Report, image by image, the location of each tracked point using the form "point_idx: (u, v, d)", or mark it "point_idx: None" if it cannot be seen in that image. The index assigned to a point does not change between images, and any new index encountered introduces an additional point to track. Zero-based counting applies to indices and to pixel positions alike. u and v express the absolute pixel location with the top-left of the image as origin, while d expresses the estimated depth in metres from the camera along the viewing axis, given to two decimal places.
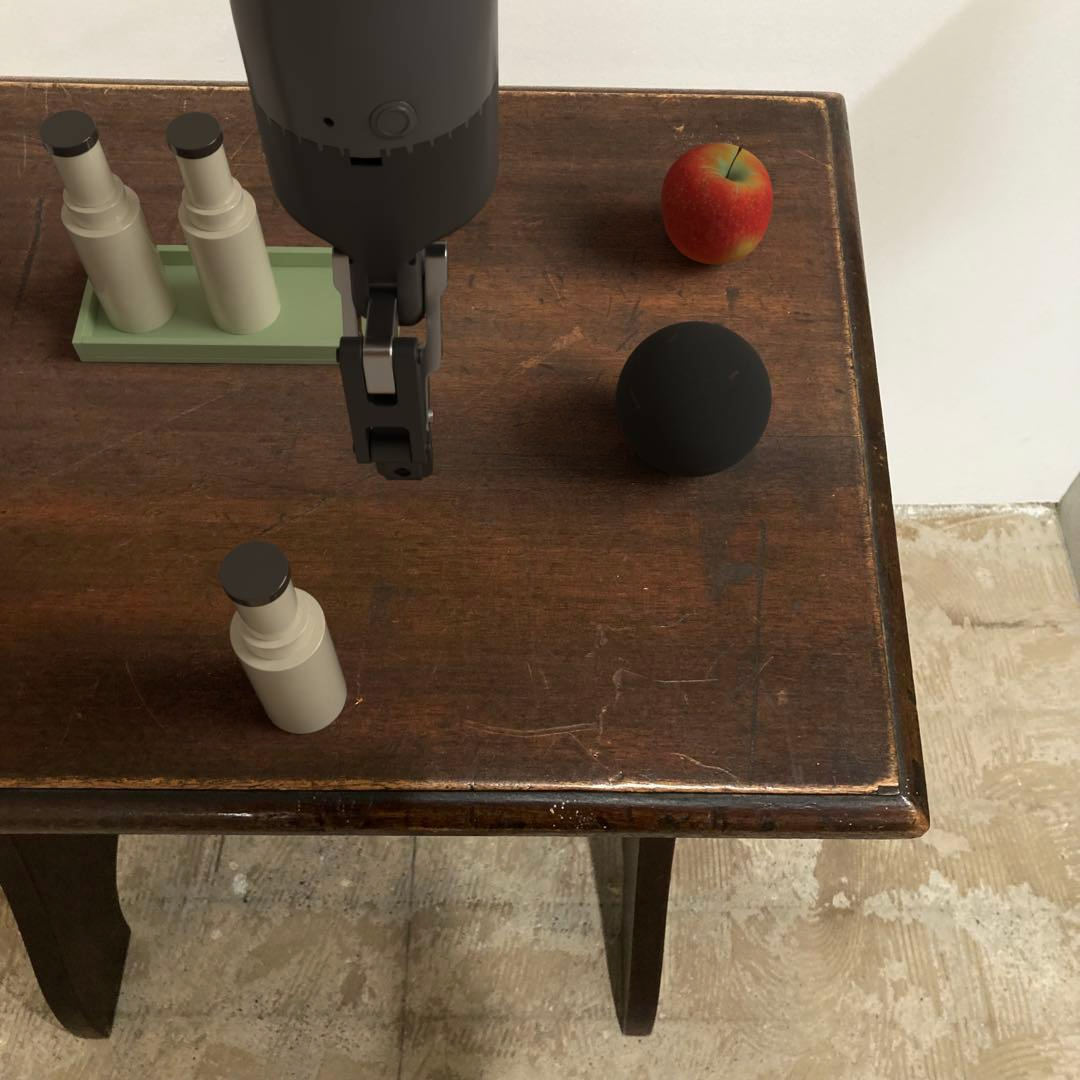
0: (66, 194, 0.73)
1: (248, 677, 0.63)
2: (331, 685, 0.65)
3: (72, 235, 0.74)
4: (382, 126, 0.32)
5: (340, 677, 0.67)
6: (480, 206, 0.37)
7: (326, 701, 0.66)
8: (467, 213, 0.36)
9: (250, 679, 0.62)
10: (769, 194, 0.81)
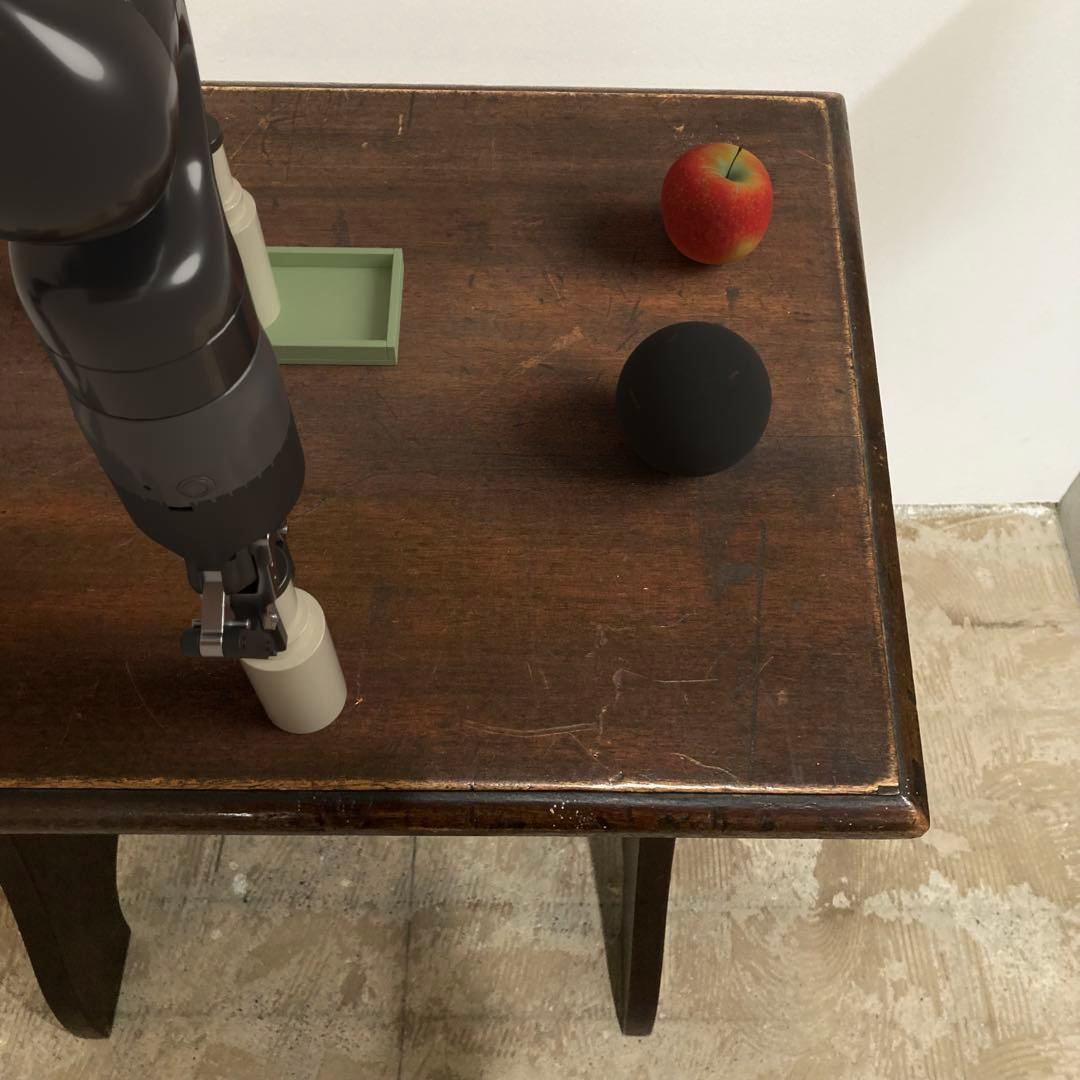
0: None
1: (248, 677, 0.63)
2: (331, 685, 0.65)
3: None
4: (188, 491, 0.42)
5: (340, 677, 0.67)
6: (285, 515, 0.47)
7: (326, 701, 0.66)
8: (273, 523, 0.46)
9: (250, 679, 0.62)
10: (769, 194, 0.81)
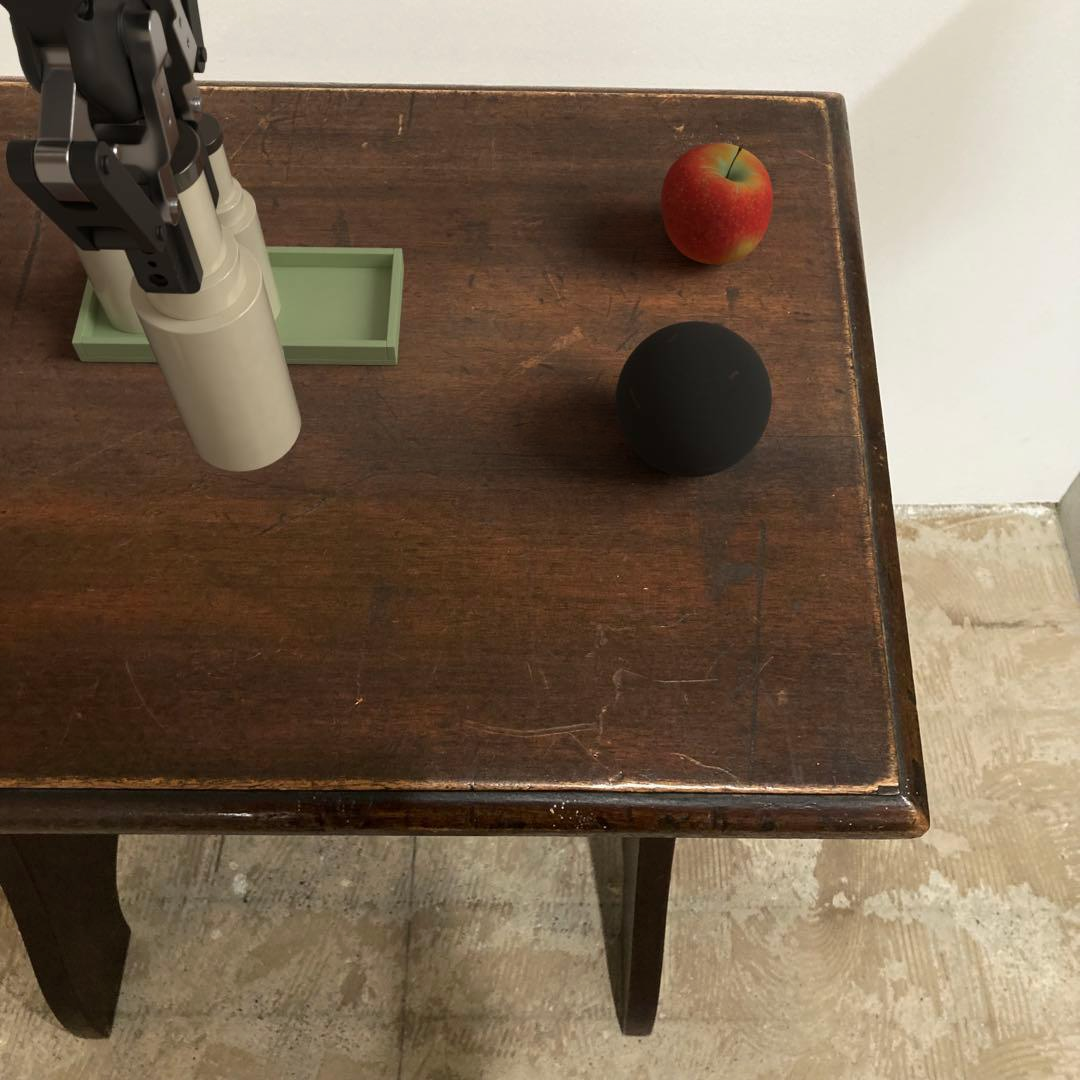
0: None
1: (159, 364, 0.46)
2: (275, 390, 0.48)
3: None
4: None
5: (289, 390, 0.50)
6: None
7: (270, 416, 0.49)
8: None
9: (161, 366, 0.46)
10: (769, 194, 0.81)
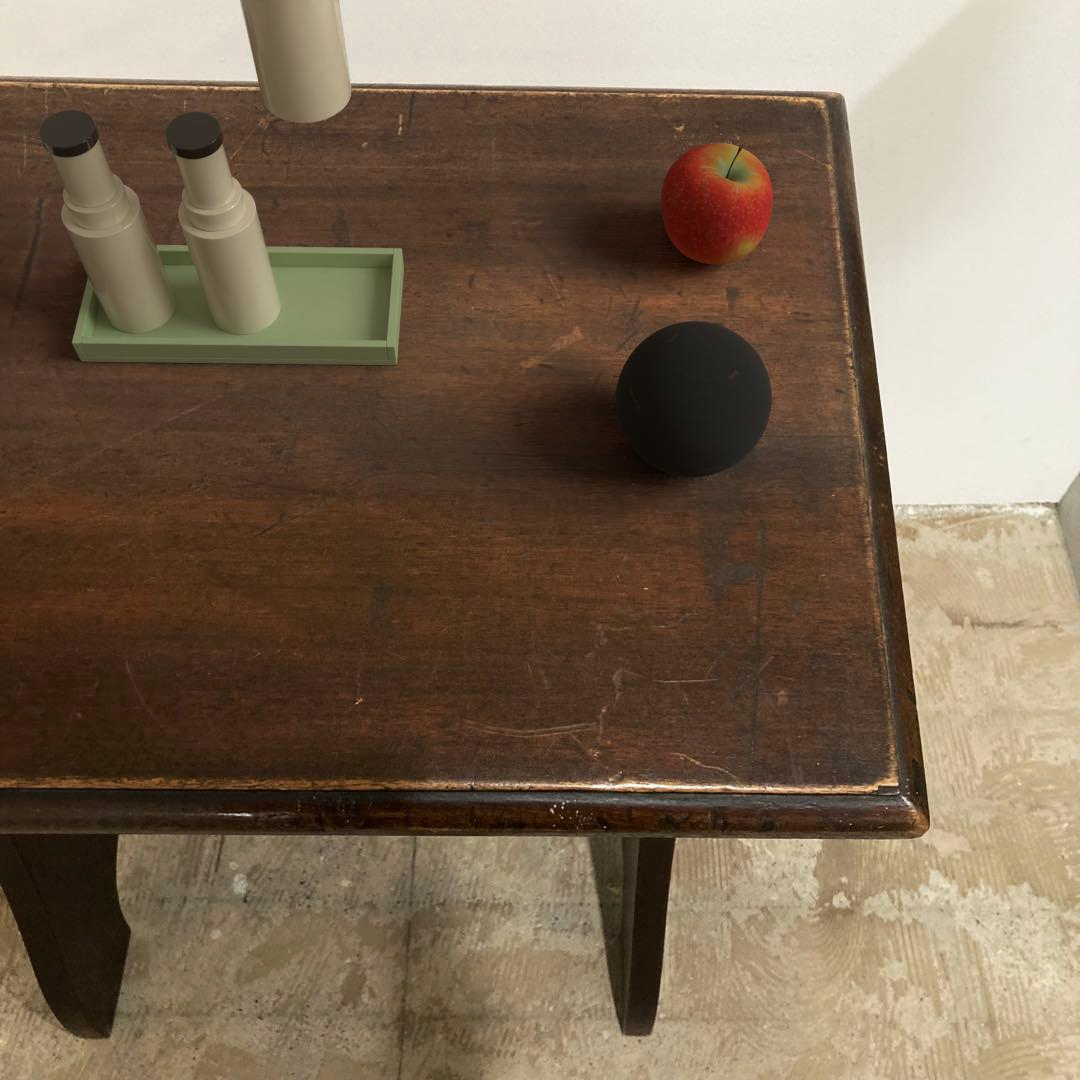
0: (66, 194, 0.73)
1: (245, 7, 0.58)
2: (335, 41, 0.60)
3: (72, 235, 0.74)
4: None
5: (344, 50, 0.62)
6: None
7: (330, 65, 0.61)
8: None
9: (247, 7, 0.58)
10: (769, 194, 0.81)
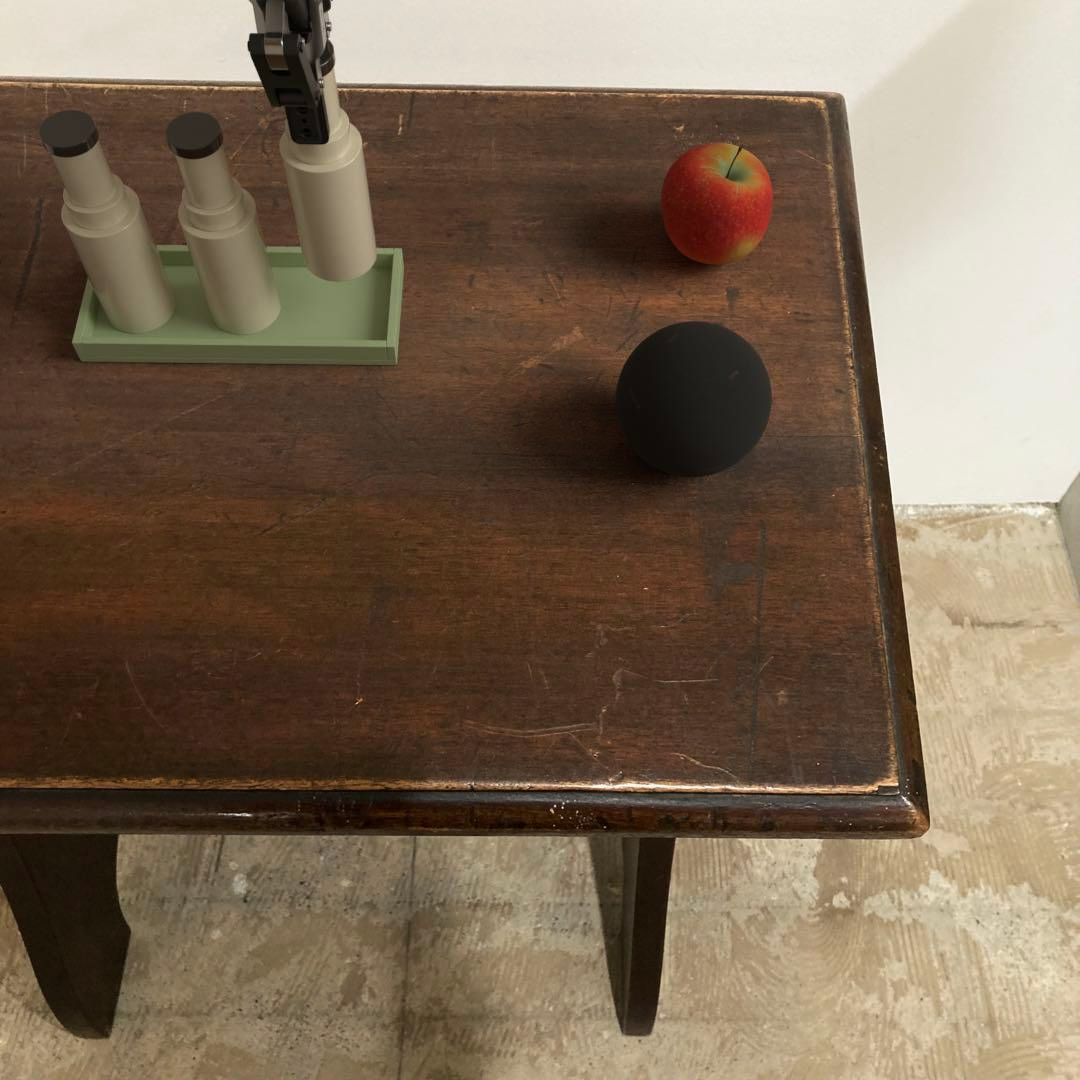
0: (66, 194, 0.73)
1: (293, 199, 0.72)
2: (365, 221, 0.74)
3: (72, 235, 0.74)
4: None
5: (372, 224, 0.75)
6: None
7: (361, 239, 0.74)
8: None
9: (295, 200, 0.71)
10: (769, 194, 0.81)
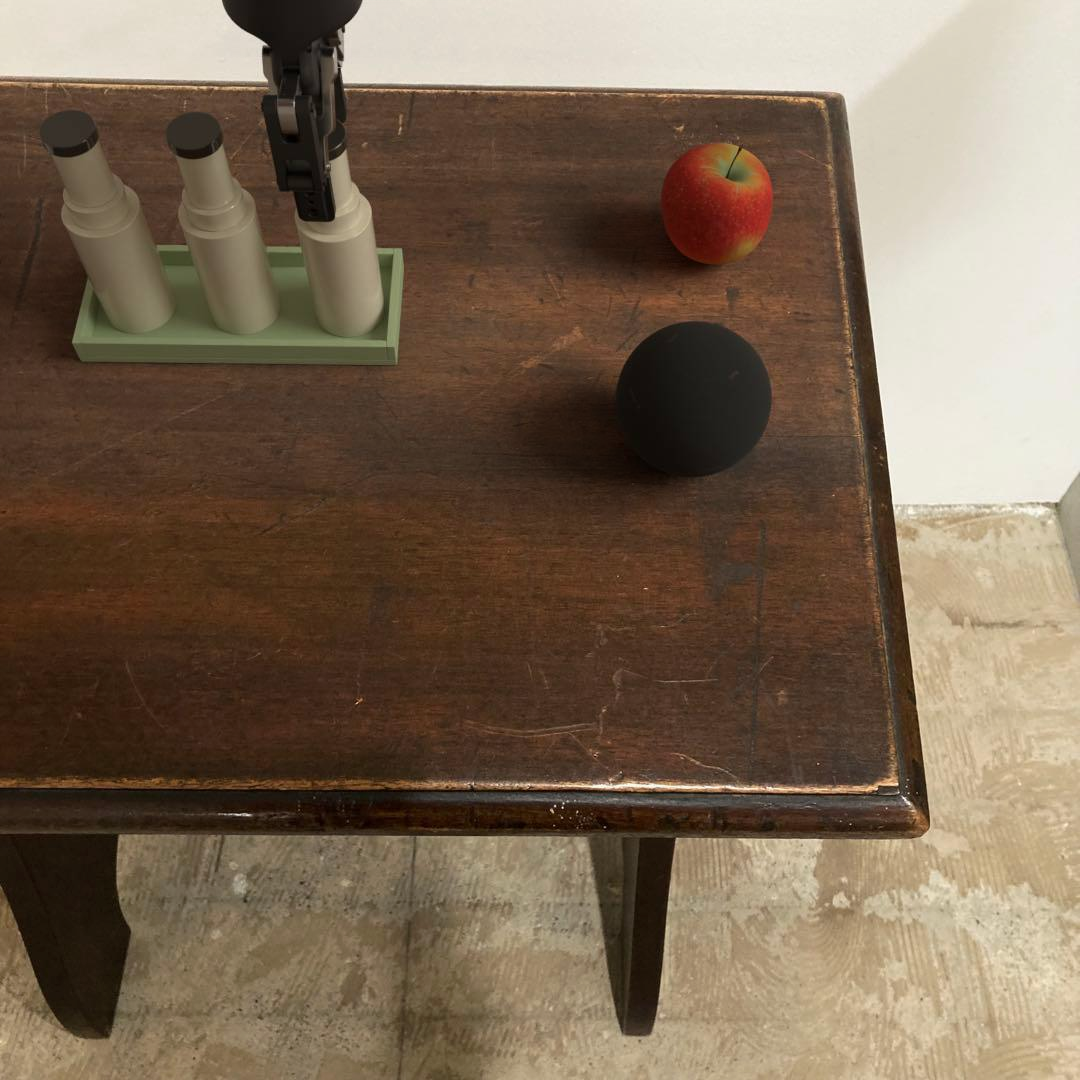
0: (66, 194, 0.73)
1: (307, 264, 0.77)
2: (374, 282, 0.79)
3: (72, 235, 0.74)
4: None
5: (381, 284, 0.80)
6: (350, 16, 0.60)
7: (370, 299, 0.79)
8: (341, 19, 0.60)
9: (309, 265, 0.76)
10: (769, 194, 0.81)
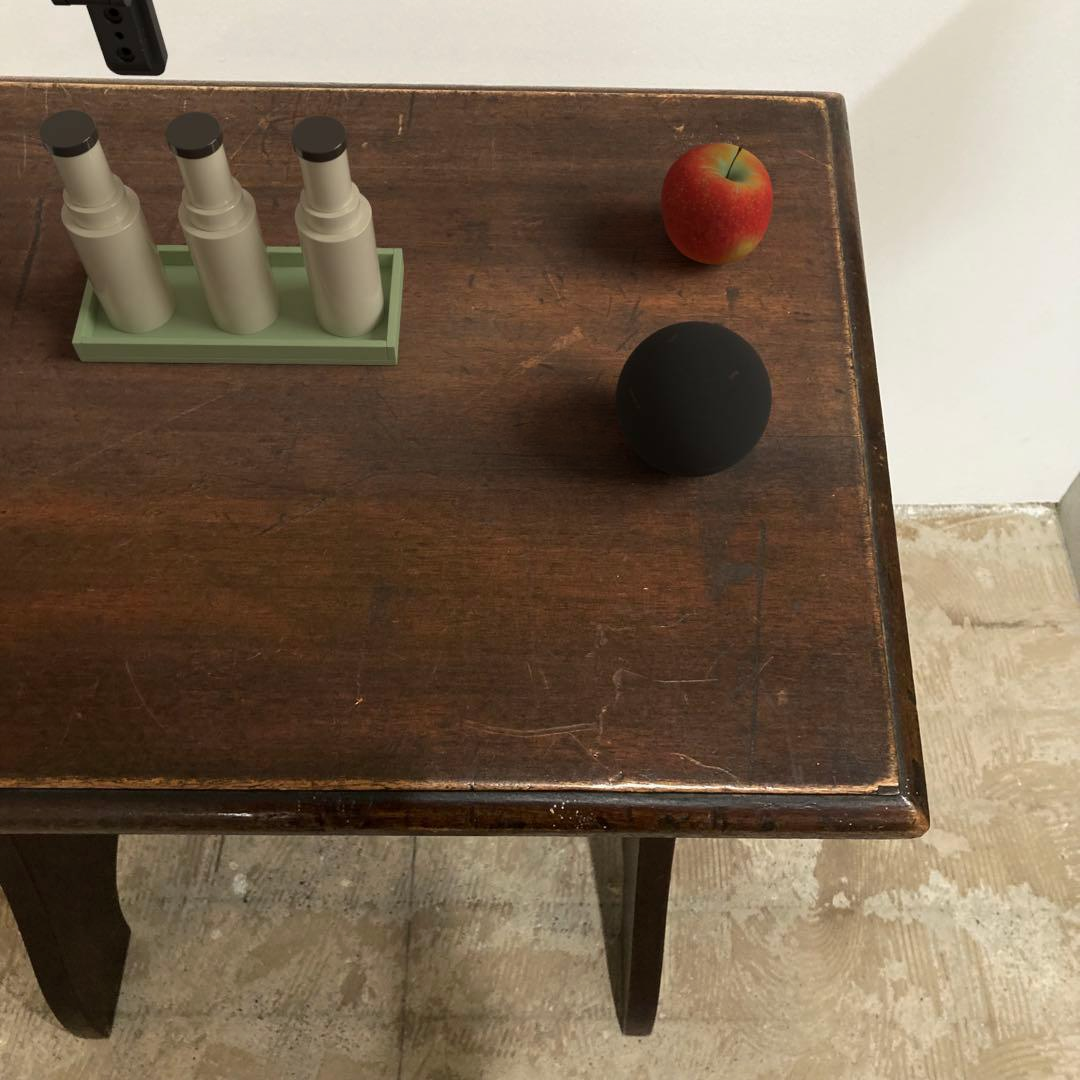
0: (66, 194, 0.73)
1: (307, 264, 0.77)
2: (374, 282, 0.79)
3: (72, 235, 0.74)
4: None
5: (381, 284, 0.80)
6: None
7: (370, 299, 0.79)
8: None
9: (309, 265, 0.76)
10: (769, 194, 0.81)
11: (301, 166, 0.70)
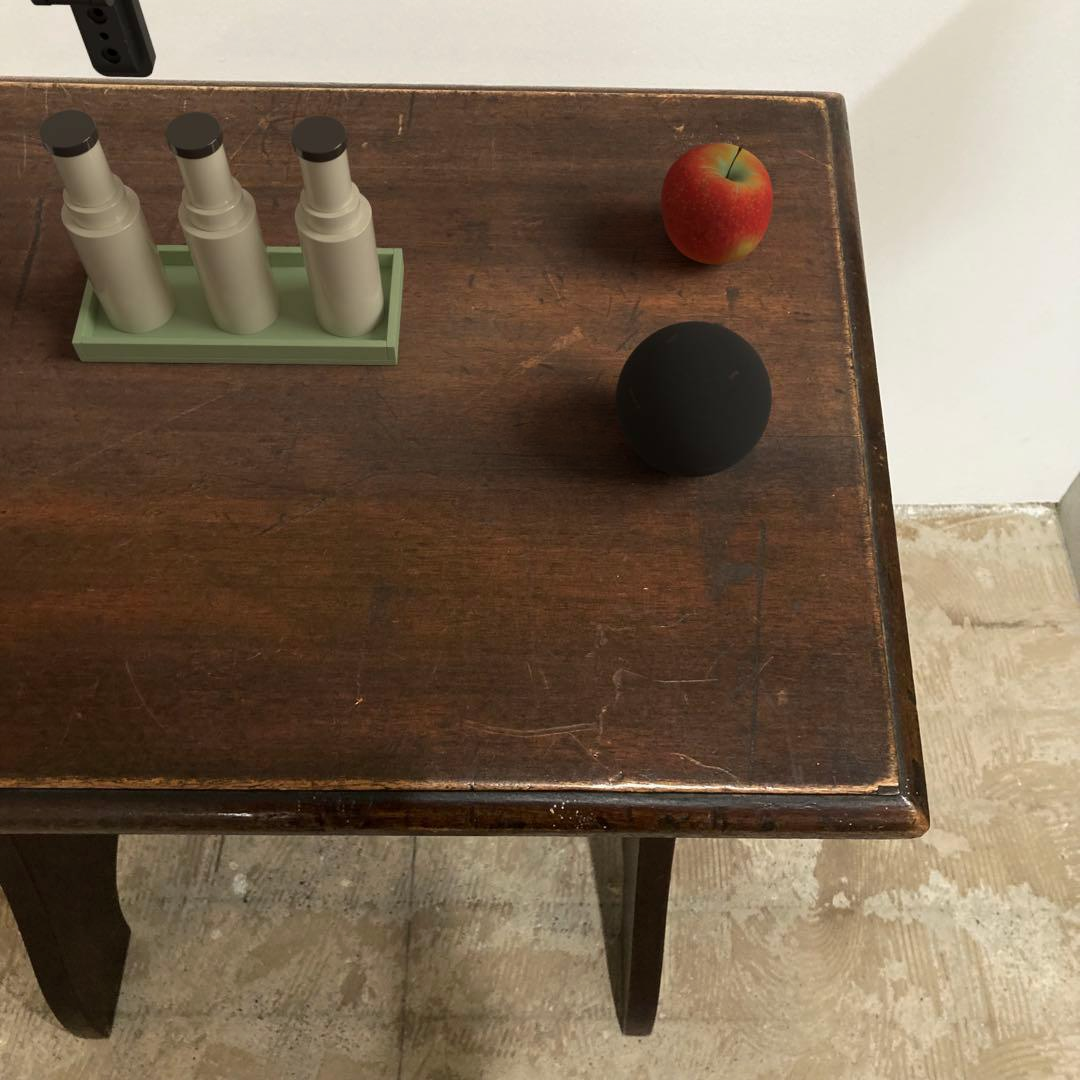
0: (66, 194, 0.73)
1: (307, 264, 0.77)
2: (374, 282, 0.79)
3: (72, 235, 0.74)
4: None
5: (381, 284, 0.80)
6: None
7: (370, 299, 0.79)
8: None
9: (309, 265, 0.76)
10: (769, 194, 0.81)
11: (301, 166, 0.70)
